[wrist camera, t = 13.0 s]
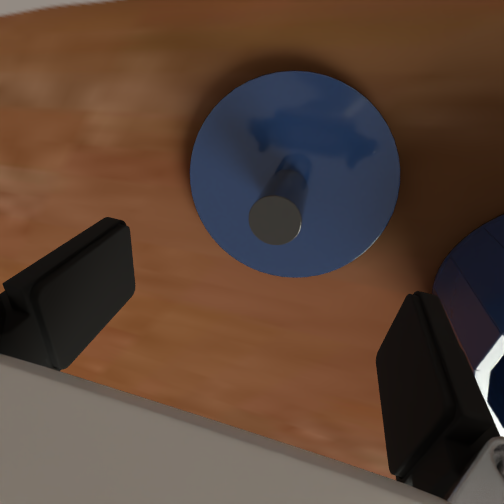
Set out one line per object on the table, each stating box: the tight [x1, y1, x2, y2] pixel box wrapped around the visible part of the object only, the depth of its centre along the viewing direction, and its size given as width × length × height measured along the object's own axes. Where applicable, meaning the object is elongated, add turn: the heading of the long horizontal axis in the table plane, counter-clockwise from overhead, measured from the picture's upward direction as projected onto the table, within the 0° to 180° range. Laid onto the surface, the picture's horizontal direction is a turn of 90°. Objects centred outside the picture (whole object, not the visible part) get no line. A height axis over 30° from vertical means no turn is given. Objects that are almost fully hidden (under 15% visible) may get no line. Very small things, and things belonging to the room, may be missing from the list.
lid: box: [190, 70, 400, 278], centre depth 20 cm, size 15×15×7 cm
